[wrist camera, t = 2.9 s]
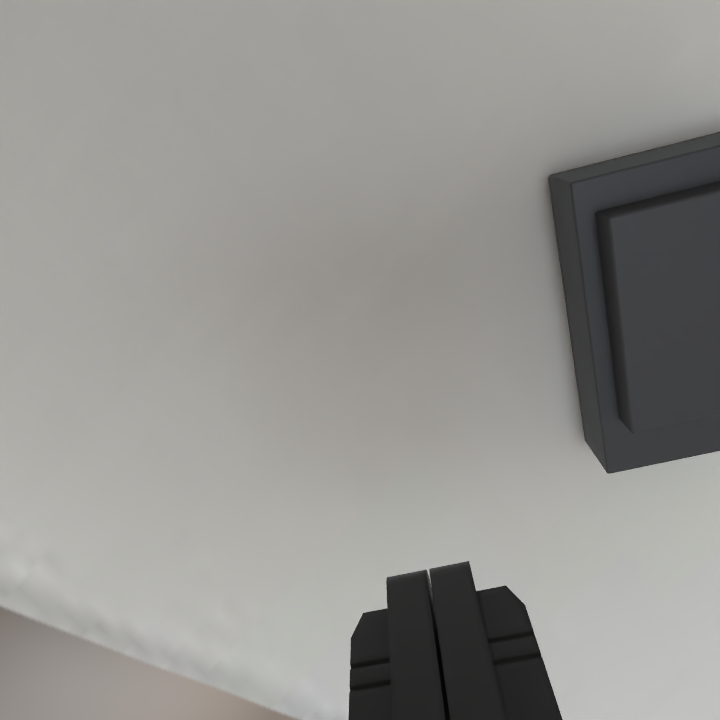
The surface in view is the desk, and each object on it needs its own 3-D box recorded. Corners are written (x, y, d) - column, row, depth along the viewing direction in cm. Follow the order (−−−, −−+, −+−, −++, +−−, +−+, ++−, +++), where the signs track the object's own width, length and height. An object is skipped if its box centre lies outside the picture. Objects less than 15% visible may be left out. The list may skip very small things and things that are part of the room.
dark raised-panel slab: (547, 175, 21) (582, 186, 17) (737, 127, 20) (810, 129, 17) (584, 441, 24) (619, 492, 21) (747, 406, 23) (809, 453, 20)
